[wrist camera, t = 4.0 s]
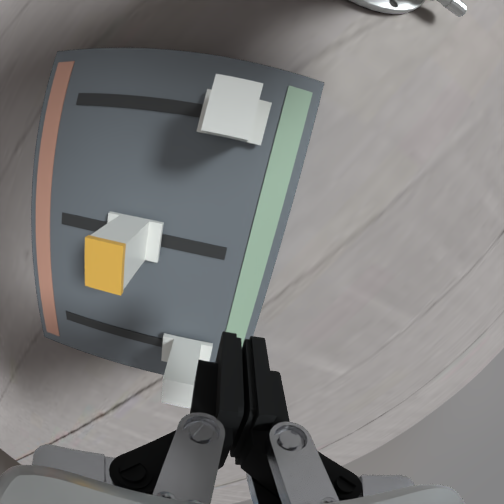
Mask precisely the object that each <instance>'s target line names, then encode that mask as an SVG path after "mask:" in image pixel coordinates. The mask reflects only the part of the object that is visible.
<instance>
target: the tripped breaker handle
mask: <svg viewBox="0 0 504 504" xmlns="http://www.w3.org/2000/svg"><path fill="white" fill-rule="evenodd" d="M163 225H164V222H159V221H155V220H150V219H145V218H140V217H135V216H130V215H126V214H121V213H116V212H111V211H110V212H109V213H108V222H107V224H106V225H104V226H103V227H101V228H100V229H98V230H97V231H96V232H94V233H93V234H91V235H88V236H86V237H85V286H88V287H91V288H95V289H98V290H102V291H105V292H109V293H113V294H116V295H120V296H121V295H122V293H123V290H124V288H125V287H126V286H127V284H128V283H129V281H130V280H131V279H132V277H133V276H134V274H135V273H136V272H137V270H138V269H139V268H140V266H141V265H142V264H143V262H144V261H145V260H147V261H151V262H156V263H158V261H159V254H160V247H161V239H162V232H163Z"/></svg>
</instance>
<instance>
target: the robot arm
mask: <svg viewBox="0 0 504 504" xmlns="http://www.w3.org/2000/svg"><path fill="white" fill-rule="evenodd" d="M349 1H351V2H354V3H356V4H358V5H360V6H363V7H365V8H368V9H371V10H374V11H378V12H382V13H389V14H404V13H408V12H411V11H413V10H415V9H416V8H418V7H420V6H421V5H422V4H423V3H424V1H425V0H349ZM432 1H433V0H432ZM437 1H438V2H440V3H441V4H442V5H443V6H444V7H445V8H447V9H448V10H450V11H451V12H452V13H454V14H455V15H456V16H459V17H460V16H463V15H464V14H465V12H466V10H467V6H466V4H465V3H463V2H462V1H461V0H437ZM229 451H230V456H231V457H235V464H236V465H241V468H242V469H243V470H244V471H245V472H246V473H247V474H246V475H247V482H248V486H249V490H250V494H251V498H252V501H253V504H465V502H464V501H463V499H462V497H461V496H460V495H459V494H458V492H456V491H455V490H454V489H452V488H451V487H447V486H444V485H434V484H423V485H414V483H413V481H412V480H411V479H410V478H408V477H407V476H402V475H361V476H360V477H357V476H356V475H355V474H354V473H352V472H350V471H349V470H347V469H345V468H343V467H342V466H340V465H339V464H337V463H335V462H334V461H332V460H331V459H329V458H327V457H326V456H324V455H323V454H321V453H320V452H318V451H317V449H316V447H315V444H314V442H313V440H312V438H311V435H310V434H309V432H308V431H307V430H306V429H305V428H304V427H303V426H301V425H299V424H297V423H293V422H289V416H288V411H287V406H286V401H285V396H284V391H283V386H282V381H281V376H280V373H279V372H277V371H270V368H269V362H268V355H267V349H266V342H265V338H260V337H254V336H250V338H249V339H245V340H244V343H243V346H242V342H241V338H238V337H237V334H236V333H230V332H225V331H223V332H222V335H221V340H220V344H219V348H218V352H217V357H216V361H215V362H209V361H204V360H198V365H197V371H196V376H195V382H194V389H193V396H192V403H191V410H190V414H188V415H186V416H184V417H183V418H182V419H181V421H180V422H179V424H178V427H177V430H175V431H173V432H171V433H169V434H167V435H165V436H163V437H161V438H159V439H157V440H154V441H152V442H150V443H148V444H146V445H143V446H141V447H139V448H137V449H134V450H132V451H129V452H127V453H125V454H122V455H120V456H118V457H116V458H113V457H105V456H104V454H98V453H92V452H85V451H80V450H74V449H69V448H64V447H59V446H55V445H47V444H45V445H42V446H40V447H38V448H37V449H36V450H35V453H34V455H33V461H32V465H19V466H14V467H11V468H9V469H7V470H6V471H5V472H4V473H3V474H2V475H1V476H0V504H210V503H211V498H212V494H213V489H214V484H215V480H216V475H217V471H218V469H220V468H221V467H223V465H224V463H225V460H226V458H227V456H228V453H229Z"/></svg>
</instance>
